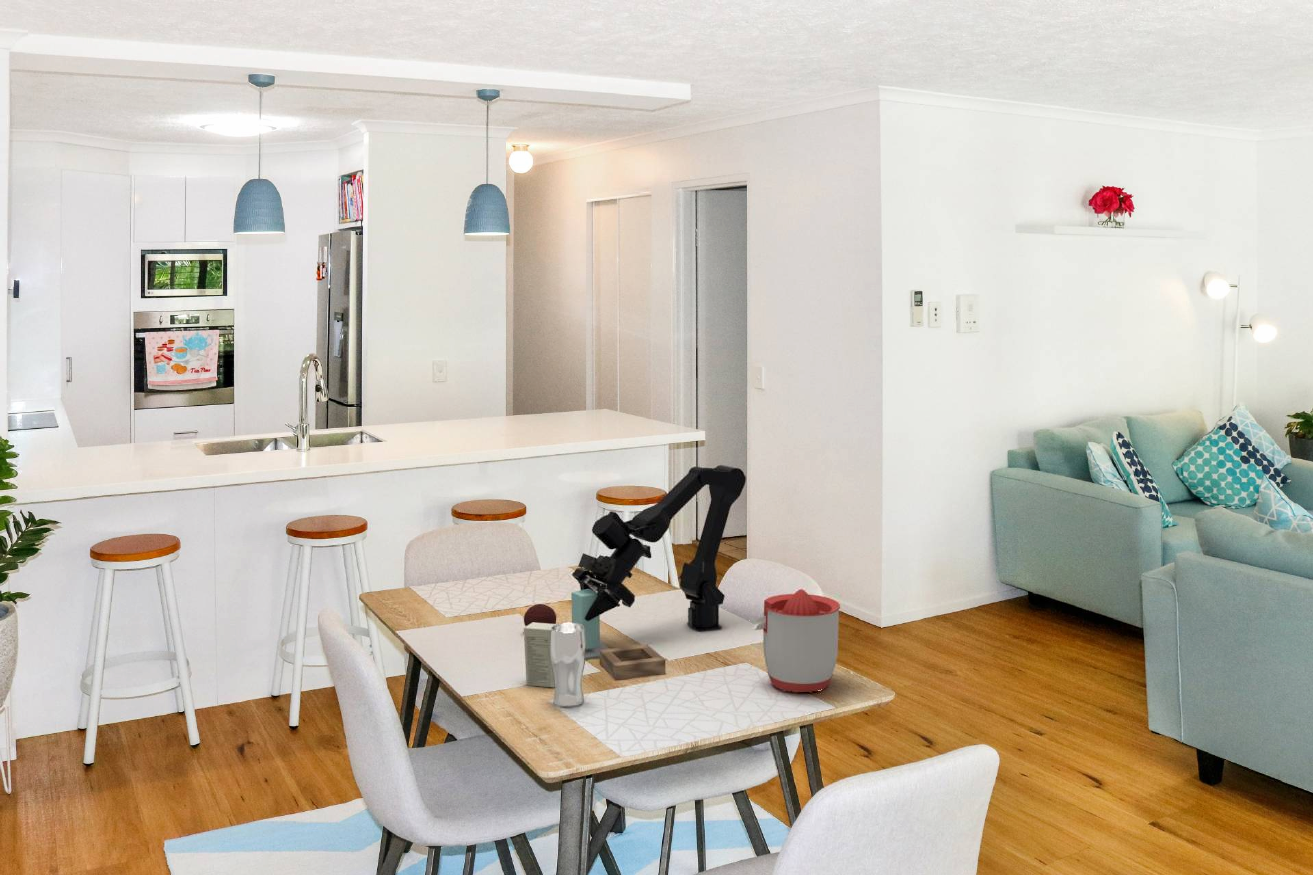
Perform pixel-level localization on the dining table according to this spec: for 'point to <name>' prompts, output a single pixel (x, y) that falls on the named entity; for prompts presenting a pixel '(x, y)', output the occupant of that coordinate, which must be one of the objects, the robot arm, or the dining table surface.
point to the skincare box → (538, 655)
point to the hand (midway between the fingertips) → (580, 617)
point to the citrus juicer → (800, 640)
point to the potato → (540, 615)
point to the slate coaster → (595, 651)
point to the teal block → (579, 610)
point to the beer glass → (568, 663)
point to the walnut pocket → (632, 662)
